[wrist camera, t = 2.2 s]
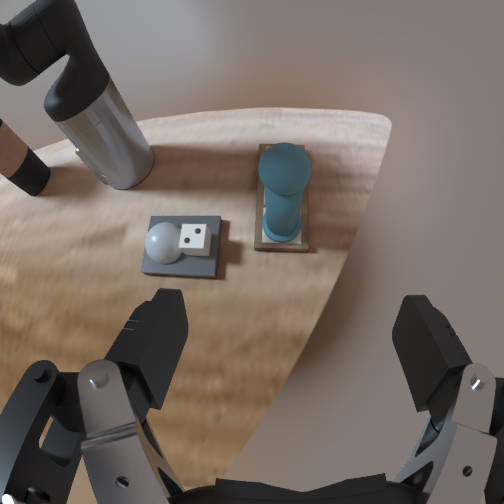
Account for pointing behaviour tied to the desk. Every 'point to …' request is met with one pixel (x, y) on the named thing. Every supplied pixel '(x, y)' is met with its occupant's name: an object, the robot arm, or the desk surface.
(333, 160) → the desk surface
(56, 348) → the desk surface
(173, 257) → the die tray
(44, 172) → the travel mug
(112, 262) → the desk surface
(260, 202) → the track board
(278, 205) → the pawn
